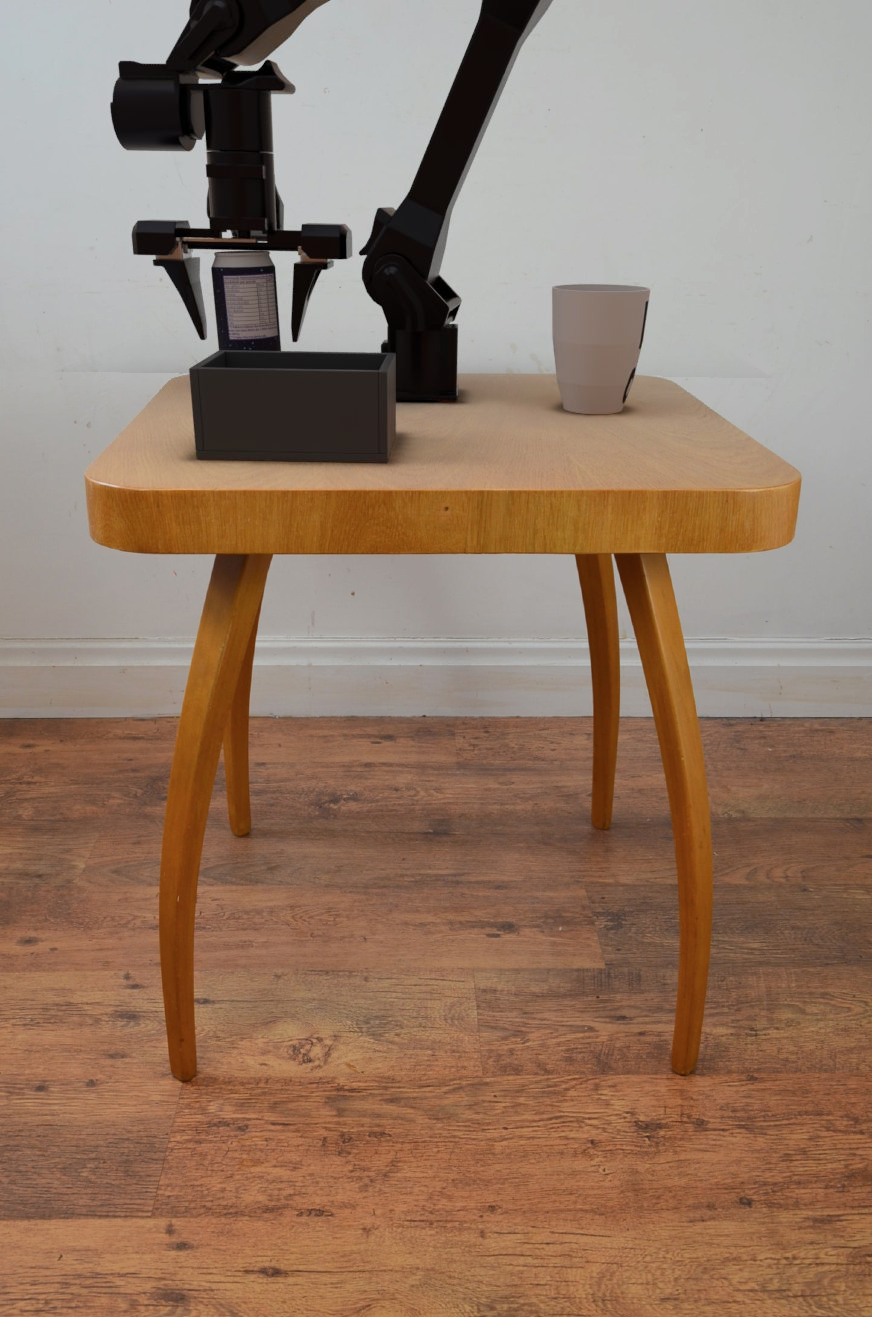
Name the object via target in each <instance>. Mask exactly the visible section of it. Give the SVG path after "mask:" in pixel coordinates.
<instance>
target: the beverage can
mask: <svg viewBox="0 0 872 1317" xmlns="http://www.w3.org/2000/svg"><path fill="white" fill-rule="evenodd" d="M213 254H214V260H213V262H212V265H211V268H210V271H211V282H212V292H213V302H214V314H215V323H216V324H215V326H216V332H217V333H216V334H217V345H218V346H217V347H218V351H219V350H226V351H227V350H247V351H282V344H281V328H280V317H279V316H280V314H279V303H278V289H277V288H278V287H277V272H276V266H275V264H274V262H273V260H272V258H271V256H270V254H271V251H257V250H223V251H215V252H214V253H213Z"/></svg>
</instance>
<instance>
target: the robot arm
mask: <svg viewBox="0 0 872 1317" xmlns="http://www.w3.org/2000/svg"><path fill="white" fill-rule="evenodd" d="M329 2H331V0H190V4H189V9H188V14H189V16H188V21H187V22H186V23H185V26H184V28H183V30H182V31H181V33H180V35H179V37H178V38H177V41H176V42H175V44H174V46H173V48H172V49H171V52H170V53H169V55H168V56H167V58H166V60H165V63H142V62H138V61H135V60H119V62H118V63H117V66H118V77H117V79H116V81H115V83H114V85H113V91H112V101H110V103H109V108H110V117H111V122H112V126H113V127H112V128H113V131H114V134H115V136H116V139H117V140H118V143H119V144H120V145H121V147H122V148H123V149H124V150H125V151H135V152H136V151H137V152H138V151H139V152H141V151H143V152H144V151H145V152H192V151H193V150H194V148H195V146H196V143H197V141H202V140H203V137H204V136H205V137H204V138H205V150H206V152H205V153H206V163H205V174H206V178H207V183H208V186H207V187H208V188H207V195H206V216H207V219H208V221H209V227H208V228H206V227H191V225H190V221H189V219H188V220H187V219H186V220H185V219H184V220H182V219H141V220H137V221H136V222H135V223H134V225H133V226H132V230H131V244H132V255H135V256H155V259H152V265H153V266H154V267H162V268H163V269H164V271H165V272H166V274H167V276H168V277H169V279H170V280H171V283H172V284H173V286H174V288H175V290H176V291H177V293H178V294H179V296H180V299H181V300H182V303H183V304H184V307H185V309H186V311H187V313H188V316H189V318H190V320H191V322H192V324H193V326H194V329H195V331H196V333H197V335H198V337H199V339H200V341H206V340H207V339H208V326H207V324H208V323H207V315H206V309H205V301H204V296H203V291H202V282H201V257H200V256H193V255H192V253H193V252H194V250H221V251H269V252H297V255H298V256H299V257H300V259H299V261H296V262H294V263H293V270H292V272H293V273H292V291H291V292H292V294H291V295H292V296H291V316H290V318H291V319H290V329H291V331H290V332H291V341H292V343H297V342H298V341H299V339H300V336H301V333H302V332H301V331H302V328H303V325H304V321H305V317H306V314H307V310H308V306H309V303H310V299H311V296H312V293H313V291H314V288H315V286H316V284H317V282H318V280H319V277H320V275H321V273H322V271H327V270H329V269H331V268H334V265H335V260H348V259H350V258H352V257H353V233H352V230H351V228H350V227H349V226H348V225H347V224H346V223H327V222H326V223H325V222H324V223H322V222H321V223H319V222H307V223H301V228H300V229H299V230H298V229H297V230H294V229H284V227H285V223H284V222H285V205H284V202H283V200H282V197H281V195H280V194H279V190H278V188H277V185H276V175H275V156H274V155H275V154H274V134H273V133H274V131H273V107H272V106H273V105H272V95H294V94H295V93H296V91H297V88H296V85H295V84H293V83H292V82H291V81H290V80H289V79H288V78H287V77H286V76H285V75H284V74H283V72H282V71H281V69H280V67H279V65H278V63H277V62H276V61H273V60H270V59H267V58H268V57H269V56H270V55H271V54H272V53H273V52H276V50H277V49H279V48H280V46H282V45H283V44H284V43H285V42H286V41H287V40H289V38H291V36H292V35H293V34H294V32H296V30H297V29H298V28H299V26H300V25H301V24H302V23H303V22H304V20H306V18H308V16H310V15H311V14H312V13H313V12H314V11H316V10H317V9H319V8H321V6H323V5H325V4H327V3H329ZM553 2H554V0H481V5H480V10H479V15H478V18H477V22H476V25H475V26H474V29H473V32H472V34H471V37H470V40H469V42H468V44H467V46H466V49H465V52H464V54H463V57H462V59H461V62H460V64H459V67H458V69H457V71H456V74H455V77H454V79H453V81H452V84H451V87H450V89H449V91H448V93H447V97H446V98H445V101H444V104H443V107H442V109H441V111H440V114H439V115H438V116H439V117H438V119H437V120H436V124H435V126H434V129H433V131H432V134H431V136H430V139H429V141H428V143H427V146H426V149H425V151H424V154H423V156H422V158H421V160H420V164H419V166H418V168H417V171H416V174H415V176H414V178H413V181H412V182H411V186H410V189H409V191H408V192H407V194H406V195H405V197H404V199H402V201H401V202H400V204H399V206H398V207H397V208H395V207H393V206H392V207H391V206H389V207H387V206H386V207H385V206H384V207H378V208H376V212H375V215H374V219H373V222H372V228H371V232H370V235H369V237H368V240H367V242H366V243H365V245H364V246H363V247H362V248H361V249H360V250H359V251H358V255H359V256H360V257H362V256H365V258H364V260H363V264H362V268H361V280H362V283H363V286H364V288H365V291H366V293H367V294H368V296H369V298H370V299H371V300H372V301H373V302H374V303H376V304H377V305H378V306H379V307H381V310H382V313H383V315H384V319H385V321H386V323H387V326H386V328H387V329H386V330H387V332H386V334H387V335H386V336H387V338H386V339H384V340H383V341H382V342H381V344H380V353H387V354H388V353H395V354H396V401H447V402H448V401H449V402H450V401H451V402H452V401H453V402H454V401H459V384H458V356H459V355H458V354H459V353H458V351H459V349H458V348H459V324H458V323H453V322H454V321H455V320H456V319H457V316H458V313H459V310H460V308H461V305H462V298H461V296H460V295H459V294H458V293H457V292H456V291H455V290H454V289H453V287H451V285H450V284H449V283H448V282H447V281H446V280H445V278H444V277H442V276H441V275H440V271H441V268H442V264H443V260H444V256H445V252H446V246H447V241H448V235H449V230H450V223H451V218H452V213H453V209H454V208H455V205H456V202H457V200H458V198H459V196H460V193H461V191H462V188H463V186H464V184H465V181H466V179H467V178H468V174H469V172H470V170H471V167H472V164H473V163H474V160H475V157H476V156H477V152H478V151H479V148H480V146H481V143H482V141H483V139H484V136H485V133H486V132H487V129H488V127H489V125H490V122H491V120H492V118H493V115H494V112H495V110H496V107H497V106H498V103H499V100H500V99H501V97H502V94H503V91H504V90H505V87H506V84H507V82H508V80H509V77H510V75H511V72H512V71H513V68H514V66H515V64H516V61H517V58H518V56H519V53H520V52H521V49H522V46H523V45H524V44H525V43H526V40H527V39H528V37H529V36H530V34H531V33H532V32H533V30H534V29H535V28H536V27H537V25H538V24H539V23H540V21H541V19H542V18H543V17H544V15H545V14H546V12H547V11H548V10H549V8H550V6H551V5H552V3H553ZM261 62H263V64H262V65H261V66H260V67H259V68H258V69H257V70H240V69H239V70H236V69H237V68H239V67H240V66H243V67H252V66H255V65H257V64H260V63H261ZM199 80H208V81H209V80H212V81H215V80H217V81H219V80H220V82H211V83H210V82H208V83H205V82H204V83H203V82H202V83H199ZM228 231H230V232H231V237H223V233H227V232H228Z"/></svg>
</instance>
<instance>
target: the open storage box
mask: <svg viewBox="0 0 872 1317" xmlns="http://www.w3.org/2000/svg"><path fill="white" fill-rule="evenodd" d="M188 374H189V384H190V395H191V396H190V398H191V409H192V421H193V436H194V446H195V458H196V460H219V461H270V462H271V461H276V462H277V461H278V462H323V463H324V462H326V463H327V462H328V463H329V462H330V463H331V462H332V463H334V462H336V463H377V464H378V463H384V464H387V463H388V462H389V459H390V456H391V452H392V449H393V445H394V441H395V438H396V435H397V400H396V354H395V353H388V354H387V353H381V352H363V351H362V352H361V351H359V352H358V351H357V352H356V351H355V352H354V351H351V352H350V351H349V352H348V351H301V350H298V351H297V350H295V351H293V350H281V351H247V350H227V351H226V350H219V349H218V350H217V351H215V352H214V353H212V354H210V355H208V356H207V357H205V358H204V359H202V360H200V361H199V362H197V363H196V364H194V365H193V366H191V367H189V368H188Z"/></svg>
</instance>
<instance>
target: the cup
mask: <svg viewBox="0 0 872 1317" xmlns="http://www.w3.org/2000/svg"><path fill="white" fill-rule="evenodd" d="M650 294H651V288H650V287H646V286H639V285H628V284H609V283H608V284H605V283H604V284H603V283H577V284H573V283H572V284H559V285H553V286H551V314H552V315H551V316H552V318H551V320H552V322H551V323H552V324H551V325H552V328H551V329H552V330H551V332H552V334H551V337H552V339H551V340H552V347H553V357H554V367H555V376H556V382H557V385H558V390H559V395H560V398H561V403H562V406H563V410H565V411H567V412H571V413H574V414H575V413H576V414H583V415H611V414H617V413H620V412H622V411H623V409H624V406H625V403H626V402H627V398H628V395H629V394H630V391H631V388H632V385H633V383H634V379H635V375H636V371H637V367H638V363H639V359H640V355H641V352H642V346H643V342H644V337H645V331H646V323H647V316H648V309H649V302H650V301H649V300H650Z"/></svg>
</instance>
